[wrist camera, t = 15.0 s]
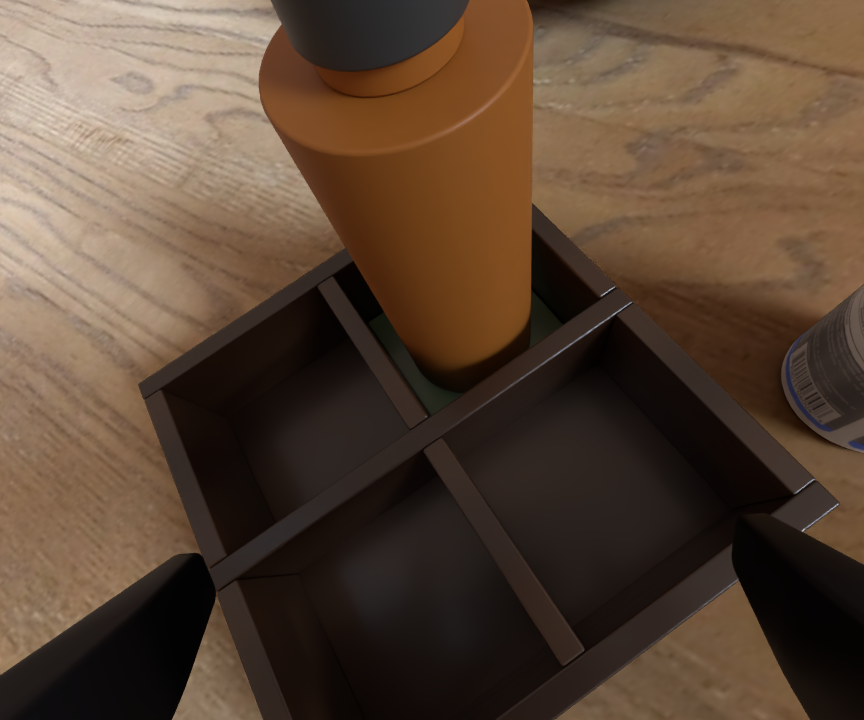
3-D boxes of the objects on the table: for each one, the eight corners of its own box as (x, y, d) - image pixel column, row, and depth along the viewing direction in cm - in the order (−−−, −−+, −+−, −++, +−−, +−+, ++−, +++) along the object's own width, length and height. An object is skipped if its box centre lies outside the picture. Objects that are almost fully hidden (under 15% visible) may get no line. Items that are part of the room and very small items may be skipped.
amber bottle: (529, 395, 18) (534, -15, 5) (404, 392, 19) (134, 43, 6) (531, 282, 19) (536, -239, 7) (416, 285, 20) (227, -165, 8)
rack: (757, 516, 16) (842, 503, 11) (383, 795, 15) (325, 892, 10) (493, 232, 22) (484, 155, 17) (216, 418, 21) (136, 383, 16)
